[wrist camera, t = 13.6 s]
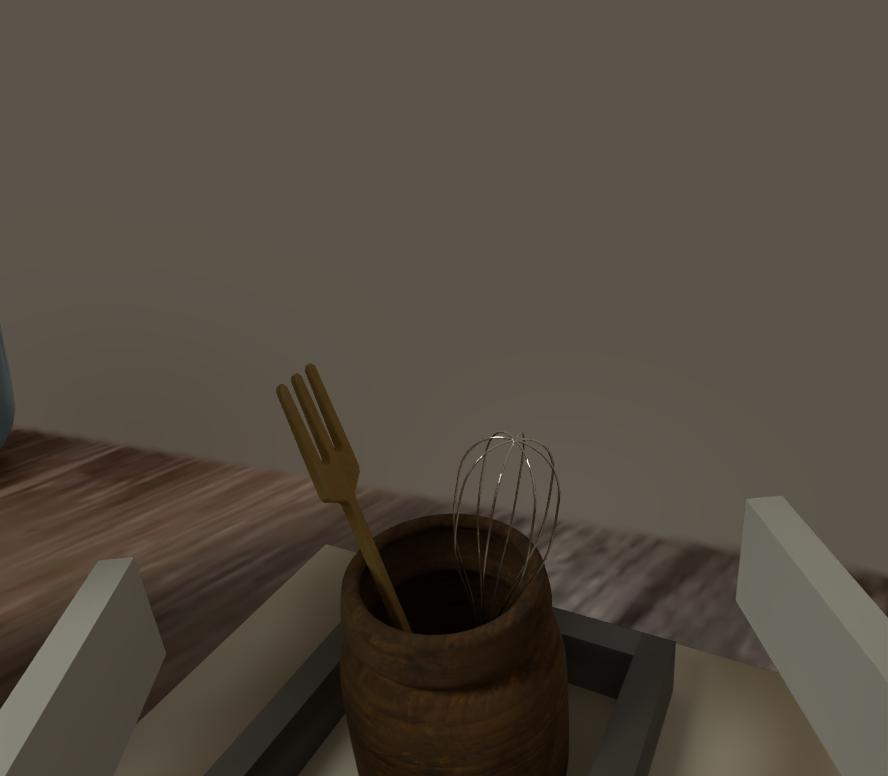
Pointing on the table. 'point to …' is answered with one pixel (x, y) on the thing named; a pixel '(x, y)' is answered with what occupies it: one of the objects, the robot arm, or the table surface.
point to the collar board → (589, 695)
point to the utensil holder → (441, 627)
